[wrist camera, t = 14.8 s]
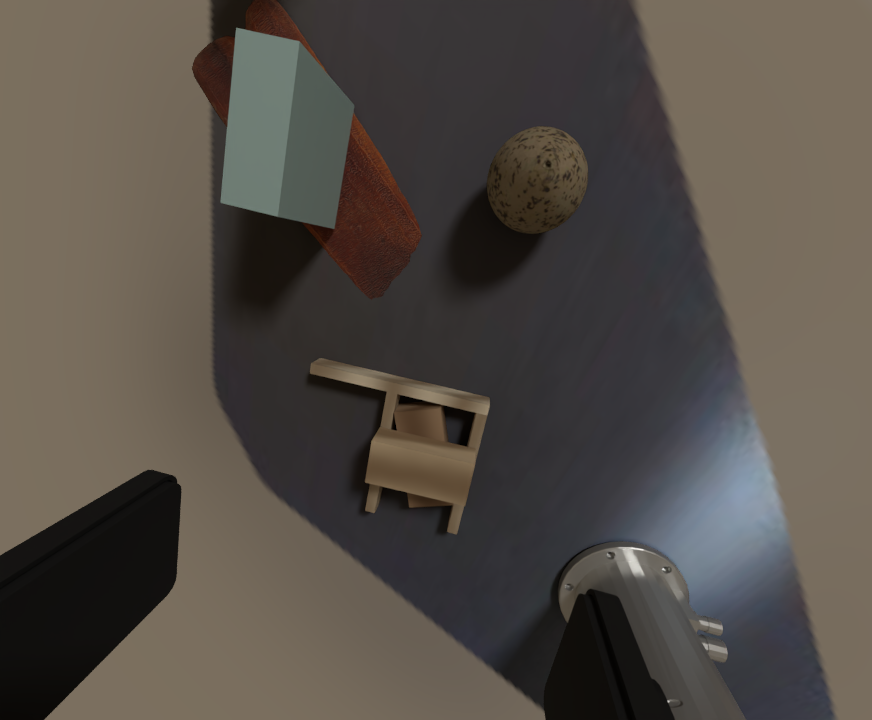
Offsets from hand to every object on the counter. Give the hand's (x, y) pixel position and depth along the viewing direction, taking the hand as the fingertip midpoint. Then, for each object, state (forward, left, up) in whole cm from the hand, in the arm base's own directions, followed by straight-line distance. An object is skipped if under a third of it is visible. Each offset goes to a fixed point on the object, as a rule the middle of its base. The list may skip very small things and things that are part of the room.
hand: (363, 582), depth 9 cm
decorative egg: (-3, -14, -30) cm, 33 cm away
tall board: (+15, -13, -29) cm, 35 cm away
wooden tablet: (+15, -12, -31) cm, 36 cm away
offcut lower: (0, +12, -30) cm, 32 cm away
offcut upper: (0, +11, -27) cm, 30 cm away
